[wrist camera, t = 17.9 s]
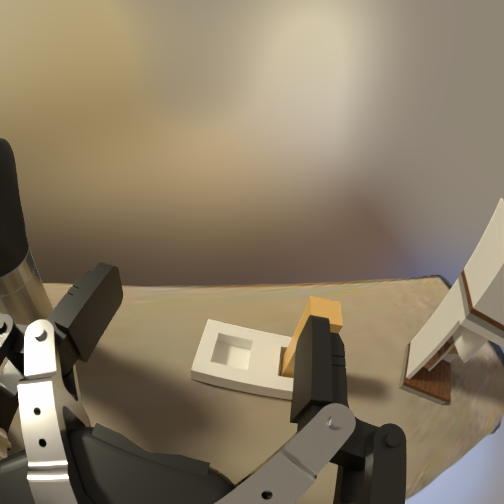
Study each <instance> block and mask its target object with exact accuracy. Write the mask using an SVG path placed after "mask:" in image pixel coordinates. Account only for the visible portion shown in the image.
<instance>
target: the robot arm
mask: <svg viewBox="0 0 504 504" xmlns="http://www.w3.org/2000/svg"><path fill="white" fill-rule="evenodd" d="M122 299H123V290H122V285H121V280H120V275H119V270H118V268H117V267H116V266H112V265H109V264H106V263H99V264H98V265H97V267H96V268H95V269H94V270H93V271H92V272H91V271H88V272H87V273H85V274H84V275H82V276H80V277H79V278H78V280H77V281H76V282H75V283H74V284H73V287H71V288H70V289H69V291H68V292H67V294H65V296H64V297H63V298H62V299H61V301H60V302H59V303H58V305H57V306H56V307H55V309H53V307H52V305H51V303H50V300H49V298H48V296H47V293H46V291H45V289H44V286H43V284H42V281H41V279H40V276H39V273H38V271H37V268H36V266H35V263H34V260H33V257H32V254H31V251H30V248H29V245H28V241H27V238H26V232H25V223H24V217H23V212H22V207H21V203H20V196H19V189H18V181H17V173H16V164H15V159H14V155H13V151H12V148H11V146H10V145H9V143H8V142H7V141H6V140H5V139H2V138H0V312H1V314H0V366H1V364H2V362H3V360H4V358H5V357H7V358H8V362H7V364H6V366H5V368H4V369H3V371H2V373H1V375H0V504H293V503H294V502H295V501H297V500H298V499H299V498H300V497H301V496H302V495H303V494H304V493H305V492H306V491H307V490H308V489H309V488H310V487H311V486H312V484H313V483H314V482H315V480H316V478H317V477H316V476H317V474H318V473H319V472H320V471H321V470H322V469H323V467H324V466H325V465H326V464H327V463H328V462H331V463H334V464H337V465H338V472H337V480H336V488H335V495H334V501H333V504H405V492H406V437H405V434H404V432H403V430H402V429H401V428H400V427H399V426H397V425H395V424H384V425H382V426H381V427H377V426H374V425H371V424H368V423H366V422H363V421H361V420H359V419H357V418H356V417H355V416H354V414H353V412H352V411H351V410H350V409H349V406H348V401H347V380H346V368H345V366H346V364H345V351H344V344H343V342H342V340H341V338H340V336H339V334H338V333H333V332H330V321H329V318H325V317H319V316H314V315H310V316H309V317H308V319H307V321H306V323H305V326H304V328H303V330H302V332H301V334H300V336H299V338H298V341H297V345H296V350H295V365H294V379H293V392H292V404H291V415H290V423H298V427H297V432H296V433H295V434H294V435H293V436H292V437H291V438H290V439H289V440H288V441H287V442H286V443H285V444H284V445H283V446H282V447H280V448H279V449H278V450H277V451H276V452H275V453H274V454H273V455H272V456H270V457H269V458H268V459H267V460H266V461H265V462H263V463H262V464H261V465H260V466H258V467H257V468H256V469H255V470H253V471H252V472H251V473H250V474H248V475H247V476H246V477H245V478H243V479H242V480H241V481H239V482H238V483H237V484H235V485H234V484H233V483H232V482H231V481H230V480H229V479H228V478H227V477H226V476H224V475H223V474H222V473H220V472H219V471H217V470H215V469H213V468H211V467H209V465H210V463H208V462H204V461H200V460H196V459H192V458H188V457H185V456H181V455H171V454H160V453H150V452H147V451H145V450H143V449H142V448H140V447H139V446H137V445H136V444H134V443H133V442H131V441H130V440H129V439H127V438H126V437H124V436H123V435H122V434H119V433H117V432H115V431H113V430H110V429H108V428H106V427H104V426H102V425H100V424H98V423H96V425H95V427H91V424H90V421H89V418H88V415H87V413H86V411H85V409H84V407H83V404H82V400H81V395H80V389H79V384H78V378H77V371H76V366H75V362H76V361H77V359H79V360H82V361H84V362H87V360H88V358H89V357H90V355H91V353H92V351H93V350H94V348H95V346H96V344H97V343H98V341H99V339H100V338H101V336H102V334H103V333H104V331H105V329H106V328H107V326H108V324H109V323H110V321H111V320H112V318H113V316H114V315H115V313H116V311H117V310H118V308H119V307H120V305H121V303H122ZM18 406H19V407H20V417H21V425H22V432H23V438H24V444H25V450H23V451H21V452H18V453H16V454H13V455H11V456H9V457H8V456H7V451H9V450H10V449H11V443H10V441H9V440H8V437H7V432H8V430H9V427H10V425H11V422H12V420H13V417H14V415H15V413H16V410H17V408H18Z"/></svg>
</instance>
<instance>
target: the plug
mask: <svg viewBox="0 0 504 504" xmlns="http://www.w3.org/2000/svg"><path fill="white" fill-rule="evenodd" d="M310 315H314V316H319V317H325V318H329V321H330V332H333V333H339V331H340V329H341V328H342V326H343V323H342V314H341V305H340V302H337V301H332V300H327V299H323V298H318V297H313V296H310V299H309V301H308V303H307V306H306V308H305V310H304V312H303V315H302V317H301V319H300V321H299V324H298V326H297V328H296V330H295V332H294V335H293V337H292V339H291V341H290V343H289V345H288V347H287V349H286V351H285V354H284V356H283V358H282V361H281V370H280V376H282V377H288V378H294V365H295V350H296V345H297V341H298V338H299V336H300V334H301V332H302V330H303V328H304V326H305V323H306V321H307V319H308V317H309V316H310Z"/></svg>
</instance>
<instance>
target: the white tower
mask: <svg viewBox="0 0 504 504" xmlns="http://www.w3.org/2000/svg"><path fill="white" fill-rule="evenodd" d="M487 340H490V341H492V342H494V343H496V344H498V345H500V346H502V347H504V199H502V198H500V201H499V203H498V205H497V208H496V210H495V212H494V214H493V216H492V218H491V220H490V222H489V224H488V226H487V228H486V230H485V232H484V234H483V236H482V238H481V240H480V242H479V244H478V245H477V247H476V249H475V251H474V252H473V254H472V256H471V258H470V259H469V261H468V263H467V264H466V266H465V268H464V269H463V271H462V273H461V274H460V276H459V277H458V279H457V280H456V282H455V283H454V285H453V286H452V288H451V289H450V291H449V292H448V294H447V295H446V297H445V298H444V300H443V301H442V302H441V304H440V305H439V307H438V308H437V309H436V311H435V312H434V313H433V315H432V316H431V317H430V319H429V320H428V321H427V322H426V324H425V325H424V326H423V327H422V329H421V330H420V331H419V332H418V334H417V335H416V336H415V337H414V339H413V340H412V341H411V342H410V343H409V344H408V346H407V347H406V349H405V356H404V363H403V369H402V375H401V380H400V386H399V388H401V389H403V390H405V391H408V392H410V393H413V394H415V395H418V396H420V397H423V398H425V399H428V400H431V401H433V402H436V403H439V404H441V405H443V404H445V403H446V402H447V401H449V395H450V363H451V362H452V361H453V360H454V359H455V358H456V357H457V356H458V355H459V356H460V358H461V359H462V361H463V362H464V363H466V362H467V361H468V360H469V359H470V358H471V357H472V356H473V355H474V354H475V353H476V352H477V351H478V350H479V349H480V348H481V347H482V346H483V345H484V344H485V343H486V342H487Z"/></svg>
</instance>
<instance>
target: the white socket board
mask: <svg viewBox="0 0 504 504" xmlns="http://www.w3.org/2000/svg"><path fill="white" fill-rule="evenodd" d="M291 339H292V337H287V336H282V335H277V334H272V333H267V332H262V331H258V330H253V329H248V328H244V327H240V326H235V325H231V324H227V323H223V322H218V321H214V320H210V319H208V321H207V324H206V327H205V330H204V333H203V336H202V339H201V342H200V345H199V347H198V350H197V353H196V356H195V359H194V362H193V365H192V368H191V379H193V380H197V381H200V382H204V383H208V384H212V385H216V386H220V387H224V388H229V389H233V390H238V391H243V392H248V393H253V394H258V395H263V396H269V397H275V398H281V399H288V400H292V392H293V379H294V378H288V377H282V376H280V370H281V361H282V358H283V356H284V354H285V351H286V349H287V347H288V345H289V343H290V341H291Z"/></svg>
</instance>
